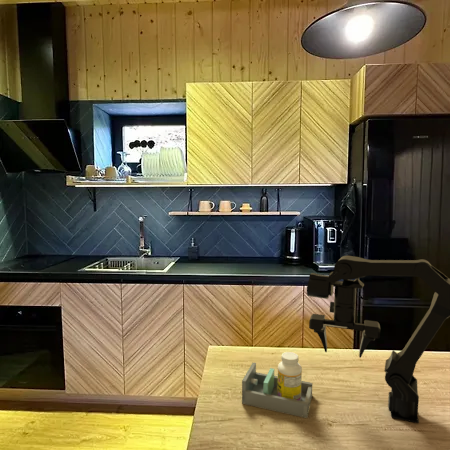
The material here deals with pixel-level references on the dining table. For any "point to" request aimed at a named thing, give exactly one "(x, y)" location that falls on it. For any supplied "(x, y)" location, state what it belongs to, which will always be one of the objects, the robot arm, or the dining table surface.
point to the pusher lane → (274, 395)
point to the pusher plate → (269, 382)
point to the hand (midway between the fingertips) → (342, 354)
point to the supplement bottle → (289, 377)
